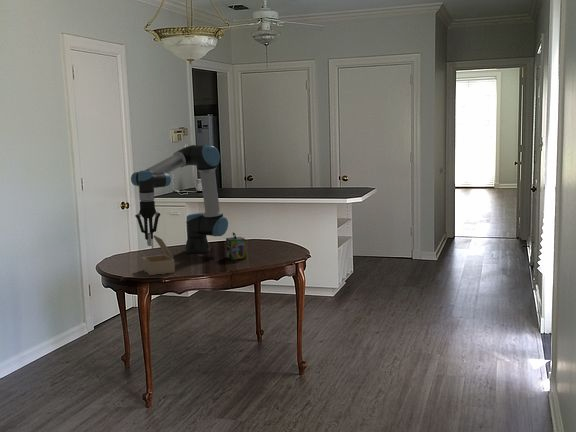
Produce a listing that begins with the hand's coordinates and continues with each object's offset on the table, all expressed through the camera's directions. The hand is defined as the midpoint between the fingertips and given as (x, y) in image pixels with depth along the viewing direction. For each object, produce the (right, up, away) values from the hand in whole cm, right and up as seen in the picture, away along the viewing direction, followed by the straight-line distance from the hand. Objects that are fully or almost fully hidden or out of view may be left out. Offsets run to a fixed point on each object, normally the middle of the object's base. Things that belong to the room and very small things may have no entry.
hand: (149, 245), depth 326 cm
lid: (+6, -1, +3) cm, 7 cm away
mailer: (+4, -14, +4) cm, 15 cm away
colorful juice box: (+43, -9, +34) cm, 55 cm away
